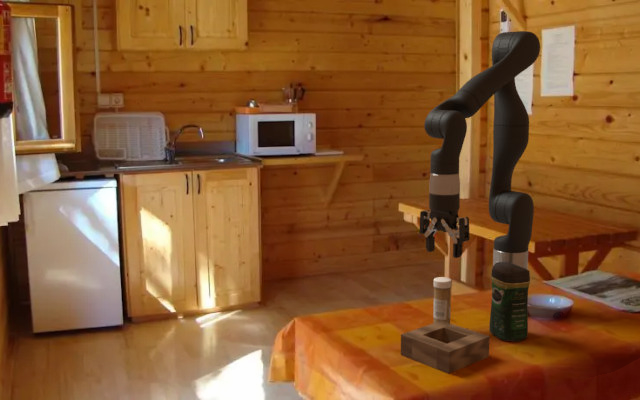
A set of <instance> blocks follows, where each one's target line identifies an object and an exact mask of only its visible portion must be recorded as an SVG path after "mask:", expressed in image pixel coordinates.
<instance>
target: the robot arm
mask: <svg viewBox="0 0 640 400" xmlns="http://www.w3.org/2000/svg"><path fill="white" fill-rule="evenodd" d="M540 43H541V42H540V39H539V37H538V36H537V35H536V34H535V33H534V32H532V31H526V30H519V31H506V32H505V31H503V32H500V33H499V34H497V35H496V36H495V38H494V41H493V43H492V46H491V66H489V67H488V68H486V69H484V70H483V71H481V72H479V73H478V74H475V75H474V76H472V77H471V78H470V79H469V80H467V81H466V82H465V83H464V84H463V85H462V86H461V87H460V88H459V89H458V91H456V93H455V94H454V95H453V96H451V97H449V98H447V99H446V100H444V101H442V102H441V103H440V104H438V105H436V106H435V107H434V108H433V109H432V110H430V112H428V114H427V115H426V118H425V121H424V124H423V126H424V131H425V133H426V135H428V136H429V137H430V138H433V139H438V140H439V139H441V140H442V141H443V142H442V146H441V147H440V148H436V149H433V150H432V152H431V153H430V175H429V176H430V177H429V181H428V182H429V183H428V186H429V187H428V188H429V189H428V209H425V210H422V211H420V213H419V214H420V215H419V231H418V232H419V234H423V235H424V238H425V248H426V251H427V252H428V253H431V252H434V251H435V249H436V248H435V243H436V242H435V241H436V240H435V236H434V235H436V233H437V232H438V231H439V232H441V231H442V232H443V233H447V235H448V236H449V237H451V239H452V242H453V245H452V251H453V252H452V258H453V259H459V258H460V257H461V256H462V255H463V243H464V242H468V241H470V240H471V239H470V219H469V216H464V217H462V216H461V217H460V216H459V210H460V207H461V206H460V202H461V201H460V196H461V180H460V157H461V153H462V150H463V146H464V142H465V138H466V135H467V132H468V131H467V130H468V124H467V120H466V119H468V118H471V117H473V116H475V115H476V114H477V113H478V111H480V109H481V108H482V107H484V105H485V104H486V103H487V102H488V101H489V100H490V99H491V98H492V97H493V103H494V104H493V126H492V128H493V129H492V134H493V135H492V136H493V137H492V139H493V146H492V147H493V148H492V149H493V150H492V151H493V152H492V166H491V167H492V170H491V178H490V188H489V196H488V197H489V198H488V212H489V213H488V214H489V216H490V218H491V220H492V221H493V222H496V223H499V224H505V225H508V228H507V229H508V230H507V234H504V235H499V236H496V237H495V238H494V240H493V255H492V257H493V258H492V267H493V266H494V265H495V263H497V262H511V263H513V264H515V265H518V266H520V267H522V268H525V269H527V270H529V268H528V266H529V246H530V243H531V239H532V234H533V233H532V232H533V224H534V223H533V222H534V216H535V215H534V213H535V212H534V211H535V206H534V201H533V198H532V196H531V195H530V194H528V193H526V192H521V191H514V190H512V182H513V181H512V179H513V173H514V171H515V170H514V169H515V168H516V165H517V164H518V162H519V161H520V159H521V157H522V156H523V154H524V153H525V151H526V149H527V147H528V144H529V137H530V134H529V133H530V117H529V114H528V110H527V109H526V106H525V104H524V102H523V100H522V97H521V96H520V95H519V92H518V89H517V87H516V79H515V78H516V77H517V76H518V75H520V74H521V73H522V72H524V71H526V70H527V69H529V67H531V66H532V65H533V64H534V63H535V62H536V61H537V60H538V58H539V56H540V52H541V44H540ZM430 221H431V222H430Z"/></svg>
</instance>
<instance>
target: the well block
mask: <svg viewBox="0 0 640 400" xmlns="http://www.w3.org/2000/svg"><path fill="white" fill-rule="evenodd" d="M490 338H491V337H490V336H489V335H487V334H484V333H480V332H477V331H474V330H471V329H468V328H465V327H464V326H463V327H462V326H458V325H457V324H453V323H451V322H450V323H447V322H444V321H439V322H436V323H431V324H427V325H425V326H422V327H421V326H420V327H419V328H416V329H413V330H410V331H407V332H405V333H404V332H403V333H402V334H400V355H401V356H403V357H405V358H407V359H411V360H414V361H415V362H418V363H421V364H422V365H425V366H428V367H431V368H433V369H435V370H439V371H441V372H444V373H446V374H448V375H449V374H451V373H453V372H455V371H458V369H459V370H461V369H464V368H465V367H468V366H470V365H472V364H475V363H478V362H480V361H483V360H484V359H487V358H489V357H490ZM460 368H461V369H460Z"/></svg>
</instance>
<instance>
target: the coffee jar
mask: <svg viewBox="0 0 640 400" xmlns="http://www.w3.org/2000/svg"><path fill="white" fill-rule="evenodd" d="M530 272H531V271H530V270H529V269H528V270H527V269H525V268H522V267H520V266H518V265H515V264H513V263H511V262H497V263H495V265H494V266H493V265H492V267H491V274H490V275H491V276H490V277H491V278H490V279H491V281H490V282H491V302H490V303H491V305H490V314H489V315H490V316H489V317H490V318H489V327H488V328H489V332H490V333H491V334H492V335H493V337H496V338H498V339H500V340H502V341H505V342H506V341H509V342H510V341H511V342H520V341H523V340H525V339H527V338H528V335H529V333H528V332H529V326H528V325H529V324H528V323H529V322H528V321H529V319H528V315H529V314H528V311H529V310H528V309H529V308H528V307H529V306H528V304H529V303H528V302H529V301H528V300H529V299H528V298H529V288H530V284H531V279H530V278H531V275H530V274H531V273H530Z"/></svg>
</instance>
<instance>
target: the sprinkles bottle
mask: <svg viewBox="0 0 640 400" xmlns="http://www.w3.org/2000/svg"><path fill="white" fill-rule="evenodd" d="M452 284H453V283H452V279H451V278H449V277H447V276H439V277H434V279H433V284H432V285H433V306H432V307H433V321H432V322H433V323H436V322H439V321H444V322H447V323H450V324H451V314H452V313H451V311H452V310H451V307H452V306H451V304H452V303H451V295H452V294H451V291H452V286H453V285H452ZM433 323H432V324H433Z"/></svg>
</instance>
